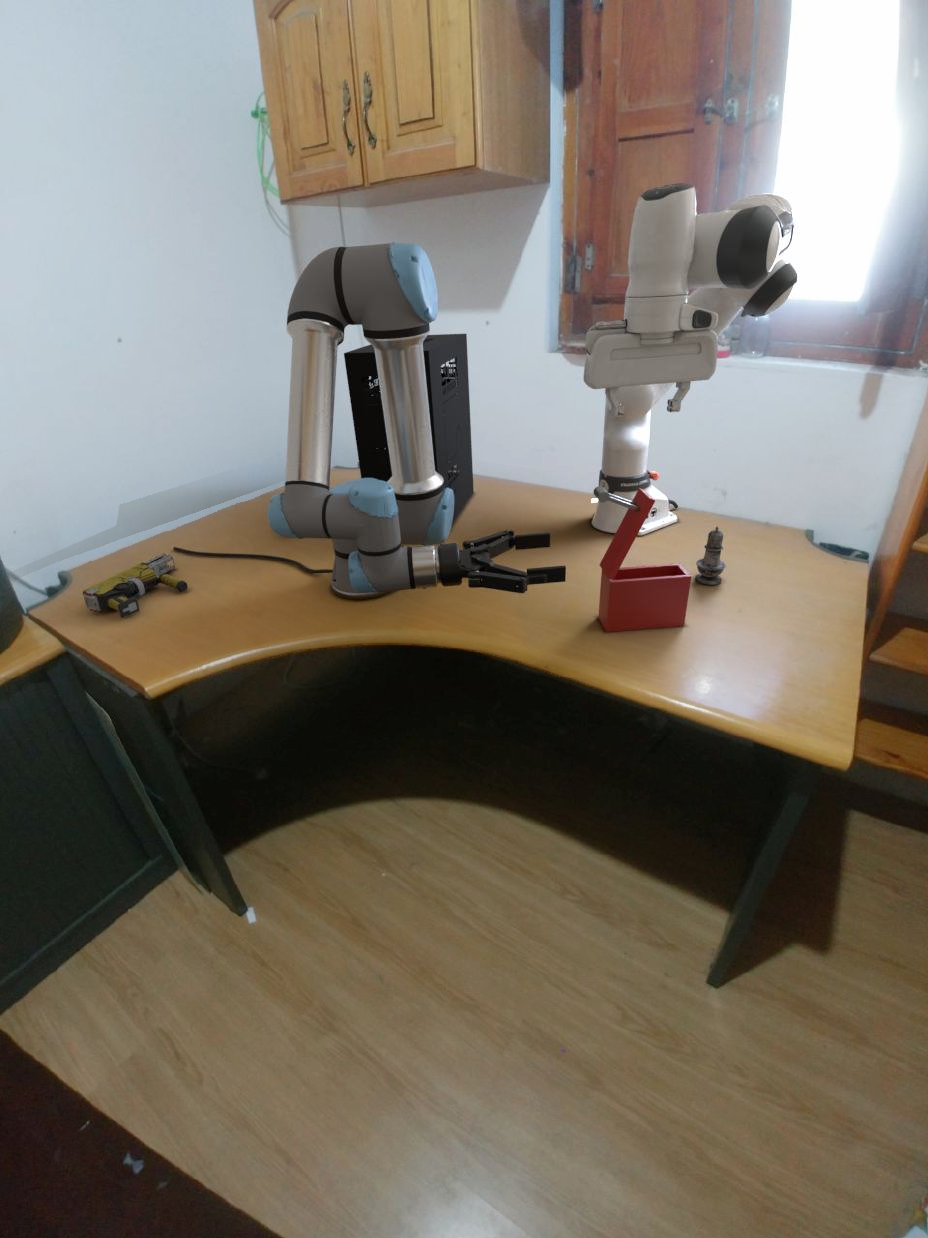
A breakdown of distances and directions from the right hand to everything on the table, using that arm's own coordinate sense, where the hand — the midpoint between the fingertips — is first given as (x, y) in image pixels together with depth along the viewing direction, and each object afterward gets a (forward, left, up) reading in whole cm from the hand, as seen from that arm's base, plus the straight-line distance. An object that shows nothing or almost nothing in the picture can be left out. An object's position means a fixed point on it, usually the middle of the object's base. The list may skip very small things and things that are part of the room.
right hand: (645, 413), depth 96 cm
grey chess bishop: (-26, -6, -39) cm, 47 cm away
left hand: (+13, -4, -23) cm, 27 cm away
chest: (-3, +1, -39) cm, 39 cm away
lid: (+1, 0, -21) cm, 21 cm away
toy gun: (+84, -63, -39) cm, 112 cm away
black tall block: (+11, -78, -39) cm, 88 cm away
